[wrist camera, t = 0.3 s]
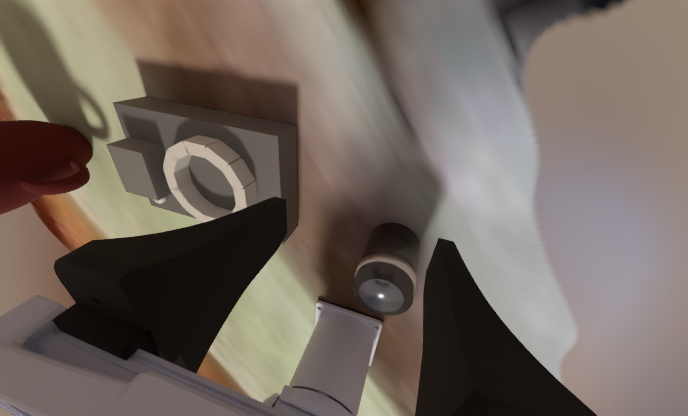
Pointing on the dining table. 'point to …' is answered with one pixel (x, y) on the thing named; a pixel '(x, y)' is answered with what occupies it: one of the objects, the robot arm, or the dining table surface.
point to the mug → (40, 161)
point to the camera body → (205, 159)
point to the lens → (388, 270)
